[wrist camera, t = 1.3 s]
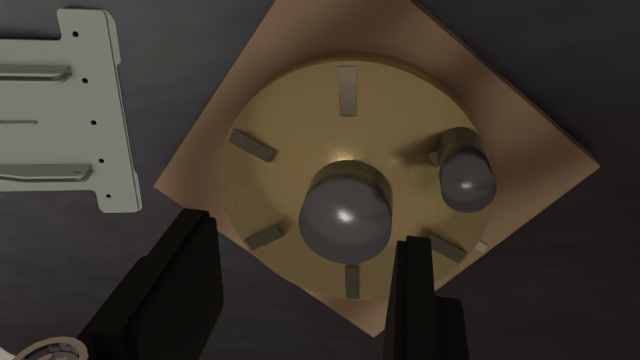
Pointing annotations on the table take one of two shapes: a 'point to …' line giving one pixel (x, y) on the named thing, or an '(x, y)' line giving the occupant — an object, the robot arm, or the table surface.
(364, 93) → the rotary dial
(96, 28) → the metal bracket
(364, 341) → the table surface
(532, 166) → the base plate
